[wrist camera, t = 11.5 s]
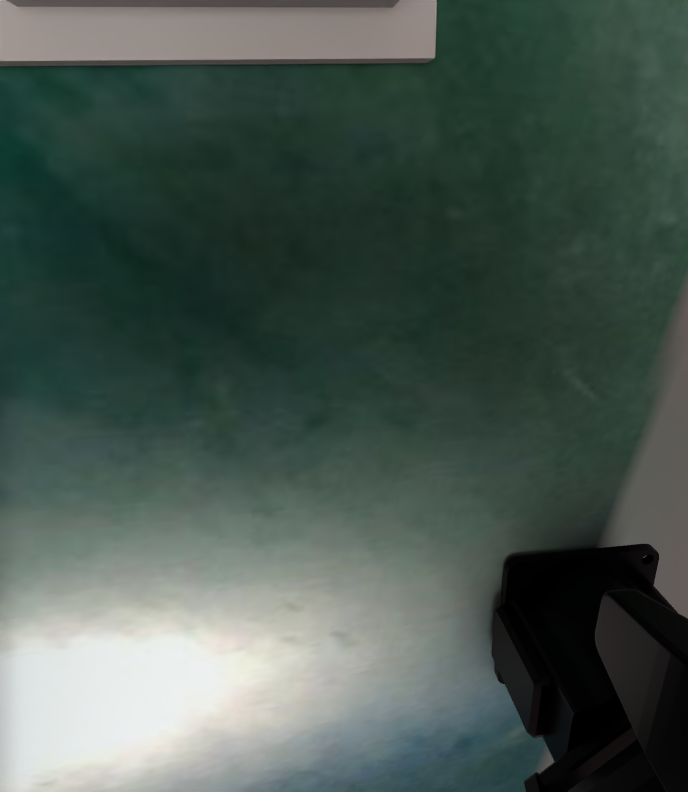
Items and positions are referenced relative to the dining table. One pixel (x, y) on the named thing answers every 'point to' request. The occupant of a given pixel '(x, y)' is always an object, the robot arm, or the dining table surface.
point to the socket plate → (215, 32)
